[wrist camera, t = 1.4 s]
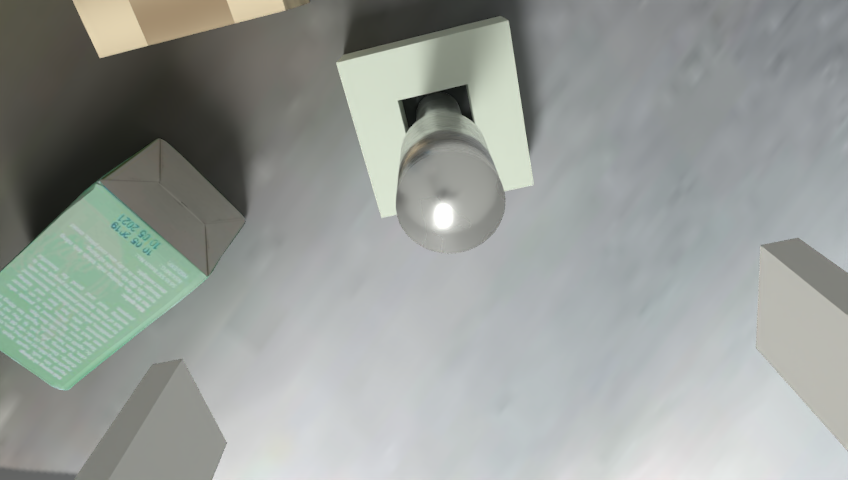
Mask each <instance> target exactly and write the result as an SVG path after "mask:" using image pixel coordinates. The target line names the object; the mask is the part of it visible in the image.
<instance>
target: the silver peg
mask: <svg viewBox="0 0 848 480" xmlns="http://www.w3.org/2000/svg"><path fill="white" fill-rule="evenodd" d="M504 210H505V192H504V189H503V185H502V183H501V180H500V178H499V175H498V172H497V170H496V167H495V165H494V162H493V159H492V157H491V154H490V152H489V149H488V146H487V144H486V141H485V139H484V136H483V134H482V132H481V131H480V129H479V128H478V127H477V126H476V125H475V124H474V123H473V122H472V121H471V120H470V119H468V118H466V117H465V116H463V115H461V111H460V108H459V105H458V103H457V101H456V100H455V99H454V98H453V97H452V96H451V95H449V94H447V93H445V92H433V93H430V94H428V95H426V96H425V97H424V98H423V99H422V100H421V101H420V102H419V104H418V107H417V112H416V122H415V123H414V124H413V125H412V126H411V127H410V129H409V130H408V131H407V133H406V135H405V137H404V139H403V142H402V146H401V153H400V163H399V173H398V183H397V193H396V212H397V217H398V220H399V223H400V224H401V226H402V228H403V230H404V231H405V233H406V234H407V235H408V236H409V237H410V238H411V239H412V240H413V241H414V242H416V243H417V244H419V245H420V246H422V247H424V248H426V249H428V250H431V251H434V252H439V253H459V252H464V251H467V250H470V249H473V248H475V247H477V246H479V245H480V244H482V243H483V242H485V241H486V240H487V239H488V238H489V237H490V236H491V235H492V234H493V233H494V232H495V231H496V229H497V228H498V226H499V224H500V222H501V220H502V217H503V214H504Z"/></svg>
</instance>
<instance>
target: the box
mask: <svg viewBox="0 0 848 480" xmlns="http://www.w3.org/2000/svg"><path fill="white" fill-rule="evenodd" d="M245 222H246V221H245V219H244V217H243V215H242V214H241V213H240V212H239V211H238V210H237V209H236V208H235V207H234V206H233V205H232V204H231V203H230V202H229V201H228V200H227V199H226V198H225V197H224V196H223V195H222V194H221V193H220V192H219V191H218V190H217V189H216V188H215V187H214V186H213V185H212V184H211V183H210V182H209V181H208V180H207V179H206V178H205V177H204V176H203V175H202V174H201V173H200V172H199V171H197V170H196V169H195V168H194V167H193V166H192V165H191V164H190V163H189V162H188V161H187V160H186V159H185V158H184V157H183V156H182V155H181V154H180V153H179V152H178V151H176V150H175V149H174V148H173V147H172V146H171V145H170V144H169V143H167V142H166V141H164V140H162V139H156V140H154V141H153V142H151V143H150V144H148V145H147V146H146V147H144V148H143V149H141V150H140V151H138V152H137V153H136V154H134V155H133V156H131V157H130V158H128V159H127V160H125V161H124V162H122V163H121V164H119V165H118V166H116V167H115V168H114V169H112V170H111V171H109V172H108V173H107V174H105V175H104V176H102V177H101V178H100V179H99V180H97V181H96V182H95V183H93V184H92V185H91V186H90V187H89V188H87V189H86V190H85V191H84V192H83V193H82V194H81V195H80V196H79V197H78V198H77V199H76V200H74V201H73V202H72V203H71V204H70V205H69V206H68V207H67V208H66V209H65V210H64V211H63V212H62V213H61V214H60V215H59V216H58V217H57V218H56V219H55V220H53V221H52V222H51V223H50V224H49V225H48V226H47V227H46V228H45V229H44V230H43V231H42V232H41V233H40V234H39V235H38V236H37V237H36V238H35V239H34V240H33V241H31V242H30V243H29V244H28V245H27V246H26V247H25V248H24V249H23V250H22V251H21V252H20V253H19V254H18V255H17V256H16V257H15V258H14V259H13V260H12V261H11V262H9V263H8V264H7V265H6V266H5V267H4V268H3V269H2V270H1V271H0V351H2V352H3V353H4V354H6V355H7V356H9V357H10V358H12V359H13V360H14V361H16V362H17V363H19V364H20V365H22V366H23V367H25V368H26V369H28V370H29V371H31V372H32V373H34V374H35V375H36V376H38V377H39V378H41V379H42V380H43V381H45V382H46V383H48V384H49V385H50V386H52V387H54V388H57V389H59V390H69V389H70V388H72V387H73V386H74V385H75V384H76V383H77V382H78V381H80V380H81V379H82V378H83V377H85V376H86V375H87V374H88V373H90V372H91V371H92V370H93V369H95V368H96V367H97V366H98V365H100V364H101V363H102V362H103V361H105V360H106V359H107V358H108V357H110V356H111V355H112V354H113V353H115V352H116V351H117V350H118V349H120V348H121V347H122V346H123V345H125V344H126V343H127V342H128V341H130V340H131V339H132V338H133V337H135V336H136V335H137V334H138V333H140V332H141V331H142V330H143V329H145V328H146V327H147V326H149V325H150V324H151V323H152V322H154V321H155V320H156V319H158V318H159V317H160V316H161V315H163V314H164V313H165V312H167V311H168V310H169V309H171V308H172V307H173V306H174V305H176V304H177V303H178V302H179V301H181V300H182V299H183V298H184V297H186V296H187V295H188V294H189V293H191V292H192V291H193V290H194V289H196V288H197V287H198V286H199V285H200V284H201V283H203V282H204V281H205V280H206V279H207V278H208V277H209V275H210V274H211V273H212V271H213V270H214V268H215V267H216V265H217V263H218V261H219V260H220V258H221V256H222V255H223V254H224V252H225V251H226V249H227V248H228V247H229V245H230V244H231V242H232V241H233V240H234V238H235V237H236V235H237V234H238V233H239V231H240V230H241V228H242V227H243V226H244V224H245Z"/></svg>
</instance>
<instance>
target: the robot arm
mask: <svg viewBox="0 0 848 480" xmlns="http://www.w3.org/2000/svg"><path fill="white" fill-rule="evenodd" d="M756 349H757V350H758V351H759V352H760V353H761V354H762V355H763V357H764V358H765V359H766V360H767V361H768V362H769V363H770V364H771V366H772V367H773V368H774V369H775V370H776V371H777V372H778V373H779V375H780V376H781V377H782V378H783V379H784V380H785V381H786V382H787V384H788V385H789V386H790V387H791V388H792V389H793V390H794V391H795V393H796V394H797V395H798V396H799V397H800V398H801V399H802V400H803V402H804V403H805V404H806V405H807V406H808V407H809V408H810V409H811V411H812V412H813V413H814V414H815V415H816V416H817V417H818V418H819V420H820V421H821V422H822V423H823V424H824V425H825V426H826V427H827V429H828V430H829V431H830V432H831V433H832V434H833V435H834V436H835V438H836V439H837V440H838V441H839V442H840V443H841V444H842V445H843V446H844V448H845V449H846V450H847V451H848V273H847V272H845V271H844V270H843V269H841V268H840V267H838V266H837V265H836V264H834V263H833V262H831V261H830V260H829V259H827V258H826V257H824V256H823V255H821V254H820V253H819V252H817V251H816V250H814V249H813V248H812V247H810V246H809V245H807V244H806V243H805V242H803V241H802V240H800V239H799V238H795V239H790V240H784V241H779V242H774V243H769V244H764V245H761V246H760V268H759V289H758V311H757V333H756ZM226 444H227V442H226V440H225V438H224V437H223V435H222V433H221V431H220V429H219V427H218V425H217V423H216V421H215V419H214V418H213V416H212V414H211V412H210V410H209V408H208V406H207V404H206V402H205V401H204V399H203V397H202V395H201V393H200V391H199V389H198V387H197V385H196V383H195V382H194V380H193V378H192V376H191V374H190V372H189V370H188V368H187V366H186V364H185V363H184V361H183V359H179V360H174V361H168V362H163V363H158V364H153V365H152V366H151V367H150V369H149V370H148V371H147V373H146V374H145V376H144V377H143V379H142V380H141V382H140V383H139V385H138V386H137V388H136V389H135V391H134V392H133V394H132V395H131V397H130V398H129V399H128V401H127V402H126V404H125V405H124V407H123V408H122V410H121V411H120V413H119V414H118V416H117V417H116V419H115V420H114V422H113V423H112V425H111V426H110V427H109V429H108V430H107V432H106V433H105V435H104V436H103V438H102V439H101V441H100V442H99V444H98V445H97V447H96V448H95V450H94V451H93V453H92V454H91V456H90V457H89V458H88V460H87V461H86V463H85V464H84V466H83V467H82V469H81V470H80V472H79V473H78V475H77V476H76V478H75V479H74V480H212V478H213V476H214V473H215V471H216V469H217V466H218V464H219V461H220V459H221V456H222V454H223V451H224V449H225V446H226Z"/></svg>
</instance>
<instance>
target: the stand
mask: <svg viewBox="0 0 848 480" xmlns="http://www.w3.org/2000/svg"><path fill="white" fill-rule="evenodd" d="M336 64H337V67H338V71H339V74H340V78H341V81H342V84H343V88H344V91H345V95H346V98H347V102H348V105H349V108H350V112H351V115H352V119H353V122H354V126H355V129H356V132H357V136H358V139H359V143H360V146H361V150H362V153H363V156H364V160H365V163H366V167H367V170H368V174H369V177H370V180H371V184H372V187H373V191H374V194H375V198H376V201H377V204H378V208H379V211H380V215H381V218H384V217H389V216H393V215H397V212H396V193H397V183H398V173H399V163H400V153H401V146H402V142H403V139H404V137H405V135H406V133H407V131H408V130H409V127H408V123H407V119H406V115H405V111H404V107H403V102H402V100H403V99H407V98H411V97H415V96H420V95H424V94H428V93H432V92H437V91H441V90H445V89H449V88H453V87H458V86H462V85H466V90H467V95H468V100H469V105H470V110H471V116H472V121H473V123H474V124H475V125H476V126H477V127H478V128H479V129H480V131H481V132H482V134H483V136H484V139H485V141H486V144H487V146H488V149H489V152H490V154H491V157H492V159H493V162H494V165H495V167H496V170H497V172H498V175H499V178H500V180H501V183H502V185H503V189H504V191H508V190H513V189H518V188H522V187H527V186H531V185H534V183H533V177H532V170H531V164H530V157H529V150H528V144H527V137H526V131H525V124H524V118H523V111H522V105H521V98H520V91H519V85H518V78H517V72H516V65H515V59H514V52H513V46H512V39H511V32H510V26H509V20H507V19H505V18H504V17H502V16H498V17H494V18H490V19H485V20H481V21H477V22H473V23H469V24H465V25H461V26H457V27H453V28H449V29H445V30H441V31H437V32H433V33H429V34H425V35H421V36H417V37H413V38H409V39H405V40H401V41H397V42H392V43H388V44H384V45H380V46H376V47H372V48H368V49H364V50H360V51H356V52H352V53H348V54H344V55H343V56H342V57H341V58H340V59H339V60H338V61H337V63H336Z"/></svg>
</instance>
